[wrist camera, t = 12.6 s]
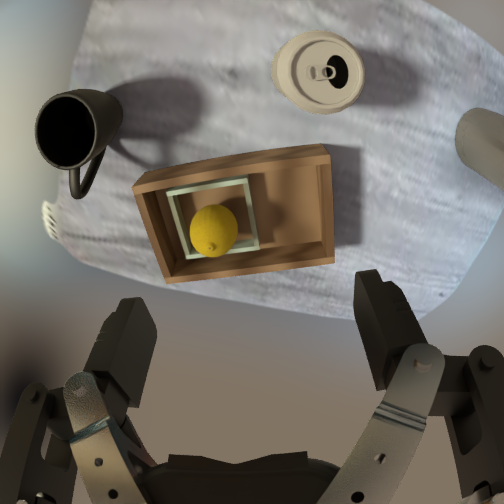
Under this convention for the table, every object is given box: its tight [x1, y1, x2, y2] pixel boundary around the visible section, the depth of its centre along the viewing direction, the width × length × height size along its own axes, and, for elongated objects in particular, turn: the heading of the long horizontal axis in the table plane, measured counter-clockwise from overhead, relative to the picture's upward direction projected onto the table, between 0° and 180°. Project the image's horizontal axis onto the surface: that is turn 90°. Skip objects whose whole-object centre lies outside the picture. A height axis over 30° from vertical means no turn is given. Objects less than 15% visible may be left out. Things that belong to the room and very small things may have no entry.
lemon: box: [190, 204, 238, 257], centre depth 36 cm, size 6×6×8 cm
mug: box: [35, 89, 123, 199], centre depth 30 cm, size 8×12×10 cm
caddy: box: [132, 144, 335, 284], centre depth 38 cm, size 22×14×5 cm, turn 99°
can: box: [271, 30, 365, 115], centre depth 25 cm, size 8×8×12 cm
